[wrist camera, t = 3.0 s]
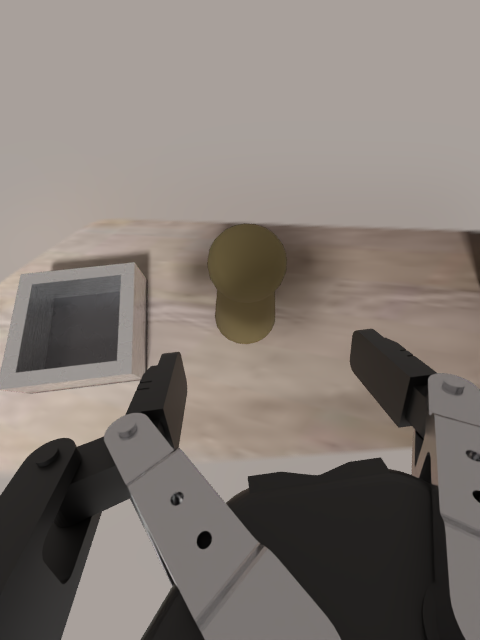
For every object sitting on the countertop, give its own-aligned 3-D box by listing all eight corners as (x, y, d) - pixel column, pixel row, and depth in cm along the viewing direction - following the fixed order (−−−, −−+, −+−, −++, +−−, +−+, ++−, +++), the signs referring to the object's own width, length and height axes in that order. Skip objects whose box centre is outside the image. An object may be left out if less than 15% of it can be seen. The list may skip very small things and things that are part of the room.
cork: (278, 342, 24) (305, 289, 14) (215, 345, 24) (197, 295, 14) (271, 286, 27) (291, 205, 16) (214, 289, 26) (196, 210, 16)
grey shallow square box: (147, 280, 27) (134, 262, 24) (146, 379, 23) (131, 373, 20) (47, 291, 27) (20, 274, 23) (30, 393, 23) (-4, 390, 20)
